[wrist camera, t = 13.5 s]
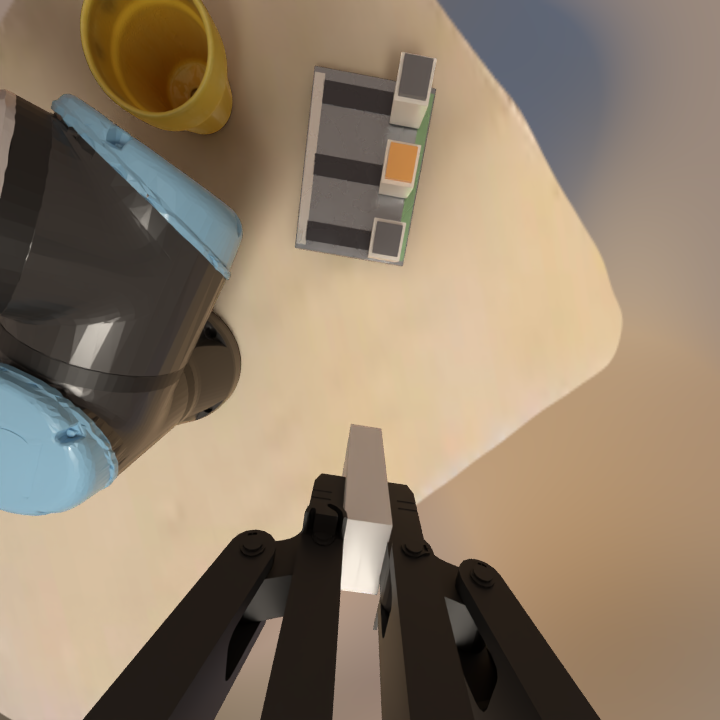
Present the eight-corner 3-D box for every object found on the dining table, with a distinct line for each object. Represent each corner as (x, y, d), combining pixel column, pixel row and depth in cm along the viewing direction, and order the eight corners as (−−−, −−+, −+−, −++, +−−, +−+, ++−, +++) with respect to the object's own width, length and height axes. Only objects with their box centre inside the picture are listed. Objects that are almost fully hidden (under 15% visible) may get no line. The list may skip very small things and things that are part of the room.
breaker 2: (378, 193, 36) (381, 180, 31) (384, 156, 35) (388, 136, 30) (406, 198, 36) (414, 186, 31) (413, 161, 35) (422, 142, 30)
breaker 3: (367, 257, 38) (368, 256, 32) (373, 223, 37) (374, 216, 31) (394, 262, 38) (399, 261, 32) (400, 228, 37) (407, 222, 32)
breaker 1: (389, 123, 34) (394, 96, 29) (395, 82, 34) (402, 47, 28) (418, 128, 35) (429, 103, 29) (426, 88, 34) (438, 54, 28)
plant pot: (260, 148, 37) (226, 107, 28) (167, 161, 38) (101, 126, 28) (240, 32, 35) (194, -56, 25) (140, 48, 35) (57, -34, 25)
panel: (298, 248, 40) (294, 247, 38) (317, 76, 35) (314, 65, 33) (400, 266, 40) (402, 266, 38) (432, 98, 36) (436, 88, 34)
